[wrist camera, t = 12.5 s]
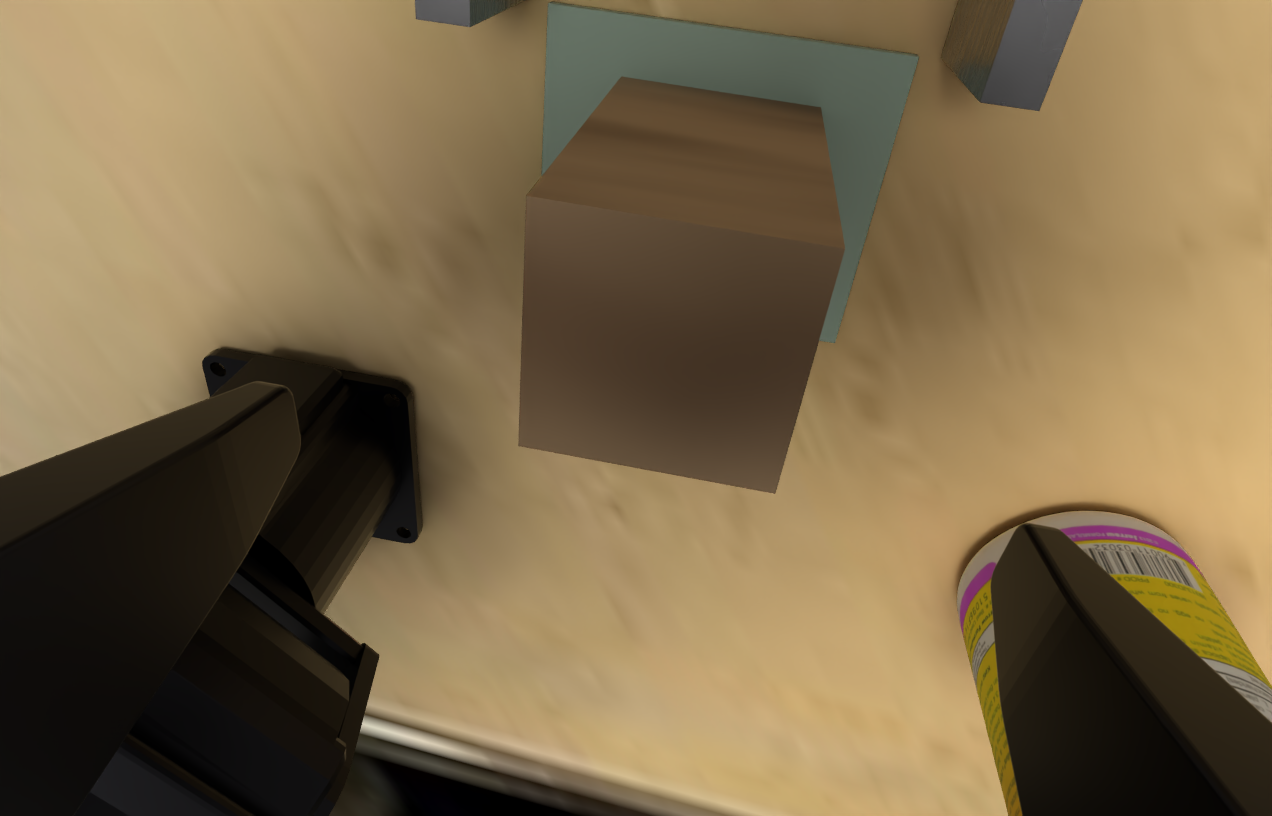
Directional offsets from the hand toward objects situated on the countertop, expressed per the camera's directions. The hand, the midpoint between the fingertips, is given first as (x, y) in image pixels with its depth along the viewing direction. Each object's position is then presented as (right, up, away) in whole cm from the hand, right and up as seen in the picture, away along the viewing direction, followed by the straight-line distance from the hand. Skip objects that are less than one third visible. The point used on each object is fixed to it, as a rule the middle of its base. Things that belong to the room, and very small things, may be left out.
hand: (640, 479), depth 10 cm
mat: (+2, +6, +9) cm, 11 cm away
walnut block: (+2, +6, +9) cm, 11 cm away
